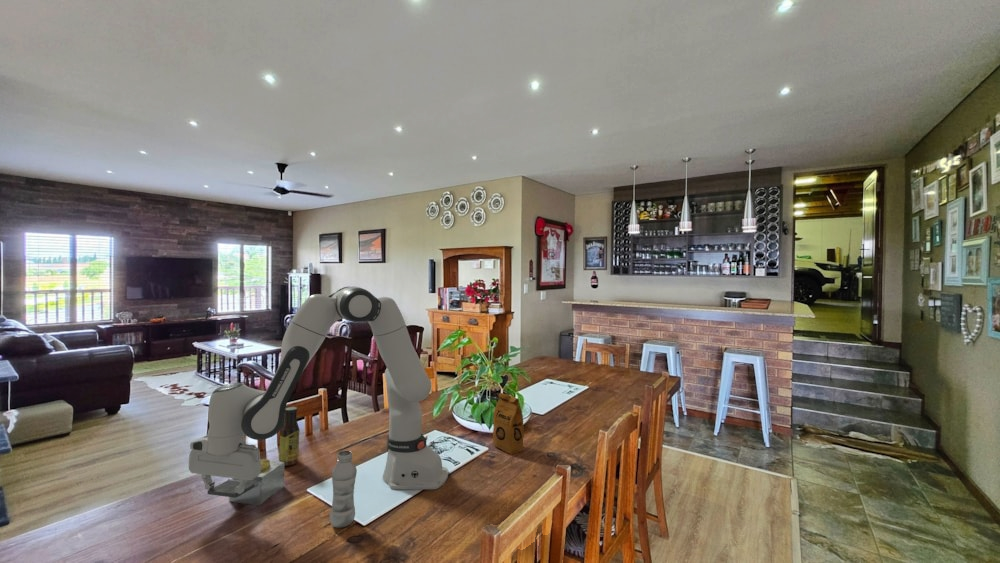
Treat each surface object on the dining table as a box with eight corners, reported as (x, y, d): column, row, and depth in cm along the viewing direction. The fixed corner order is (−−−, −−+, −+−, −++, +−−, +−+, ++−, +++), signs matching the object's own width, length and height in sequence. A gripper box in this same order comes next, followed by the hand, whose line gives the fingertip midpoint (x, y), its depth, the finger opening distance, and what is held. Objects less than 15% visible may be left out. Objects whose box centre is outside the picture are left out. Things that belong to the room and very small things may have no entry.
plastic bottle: (333, 517, 117) (335, 448, 116) (357, 517, 117) (359, 448, 117) (326, 531, 110) (328, 458, 110) (351, 531, 111) (353, 458, 110)
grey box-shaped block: (283, 486, 132) (284, 462, 132) (259, 505, 121) (259, 478, 121) (256, 483, 134) (256, 458, 133) (229, 501, 123) (229, 475, 123)
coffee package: (508, 457, 159) (510, 401, 159) (489, 446, 169) (491, 393, 168) (527, 451, 165) (529, 397, 165) (507, 440, 175) (509, 390, 175)
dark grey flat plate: (257, 486, 121) (258, 481, 121) (236, 498, 113) (237, 493, 113) (229, 482, 122) (230, 478, 122) (206, 494, 114) (207, 490, 114)
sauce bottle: (290, 468, 144) (291, 412, 144) (274, 465, 146) (276, 410, 145) (302, 459, 151) (304, 406, 151) (287, 457, 152) (289, 405, 152)
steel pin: (272, 488, 130) (273, 460, 130) (260, 496, 125) (261, 467, 125) (258, 486, 131) (258, 458, 131) (245, 494, 126) (246, 465, 126)
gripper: (267, 441, 116) (265, 489, 116) (204, 434, 119) (202, 481, 119) (251, 450, 110) (249, 501, 110) (184, 442, 113) (183, 492, 113)
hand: (224, 490), depth 115 cm, fingers open, 8 cm apart
